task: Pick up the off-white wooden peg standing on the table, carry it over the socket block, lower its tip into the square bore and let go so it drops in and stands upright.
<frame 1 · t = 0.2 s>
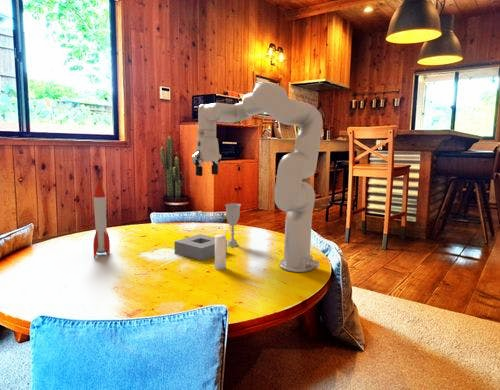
hand: (207, 175, 159), 31 cm above the table, tool pointing down, fingers open, 9 cm apart
chalice: (232, 245, 165), on the table
toy rocket: (101, 255, 147), on the table
peg: (220, 267, 135), on the table
socket block: (200, 252, 153), on the table
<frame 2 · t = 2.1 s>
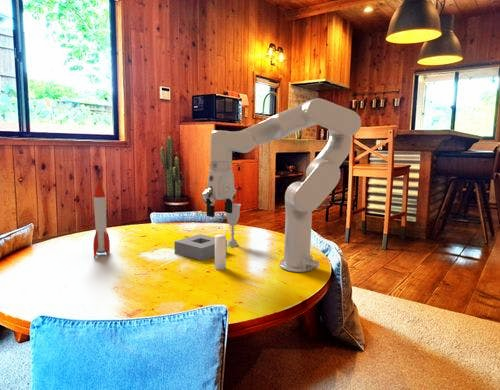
hand: (219, 214, 132), 20 cm above the table, tool pointing down, fingers open, 9 cm apart
nothing on the table moved.
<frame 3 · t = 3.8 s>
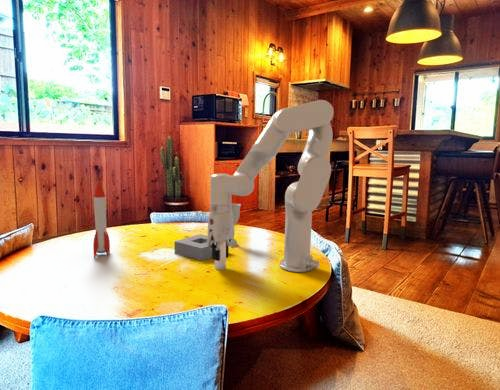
hand: (220, 257, 134), 4 cm above the table, tool pointing down, fingers closed on peg, 4 cm apart
peg: (220, 267, 135), on the table, touching gripper
everything else where it was.
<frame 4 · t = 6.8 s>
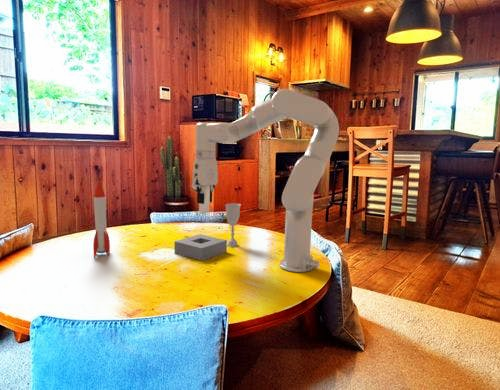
hand: (204, 202, 145), 22 cm above the table, tool pointing down, fingers closed on peg, 4 cm apart
peg: (204, 211, 146), point 18 cm above the table, touching gripper
everything else where it was.
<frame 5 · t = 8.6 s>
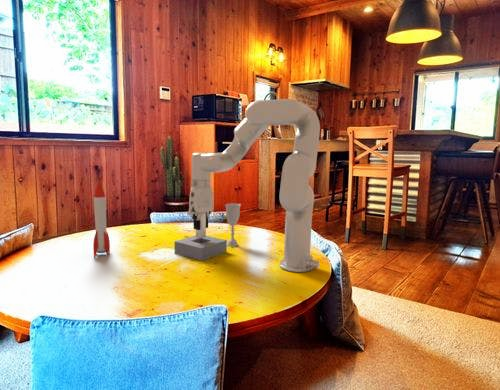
hand: (200, 228, 151), 10 cm above the table, tool pointing down, fingers closed on peg, 4 cm apart
peg: (200, 237, 152), point 7 cm above the table, touching gripper
everything else where it was.
when the fingers open (7 cm above the table, at t = 9.7 s): peg drops 3 cm, resting in socket block.
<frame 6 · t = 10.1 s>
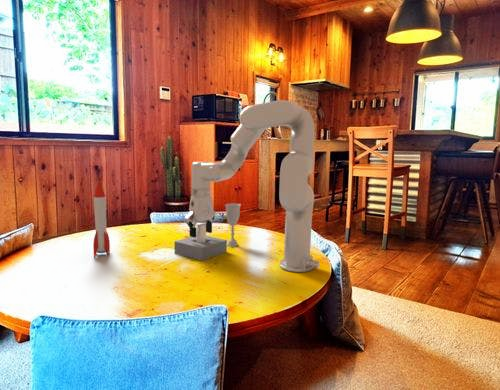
hand: (200, 234, 151), 8 cm above the table, tool pointing down, fingers open, 8 cm apart
peg: (200, 252, 153), resting in socket block
everything else where it was.
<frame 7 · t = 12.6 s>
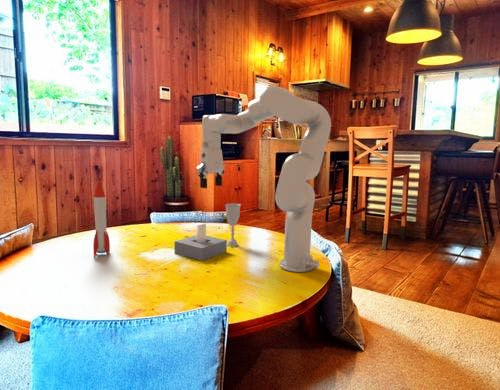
hand: (211, 186, 156), 26 cm above the table, tool pointing down, fingers open, 9 cm apart
nothing on the table moved.
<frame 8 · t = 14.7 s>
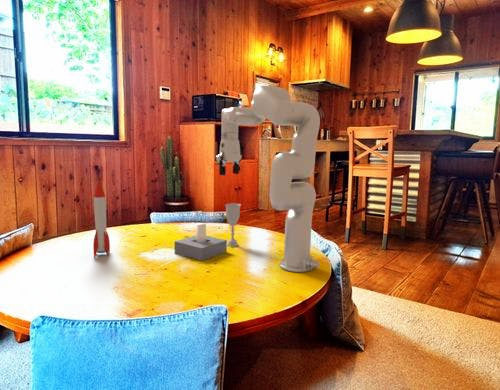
hand: (229, 174, 170), 30 cm above the table, tool pointing down, fingers open, 9 cm apart
nothing on the table moved.
at the end: peg 0.0 cm off-centre on the socket block, point 0.0 cm above the socket block's base; peg tilted 0°; the gripper is holding nothing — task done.
